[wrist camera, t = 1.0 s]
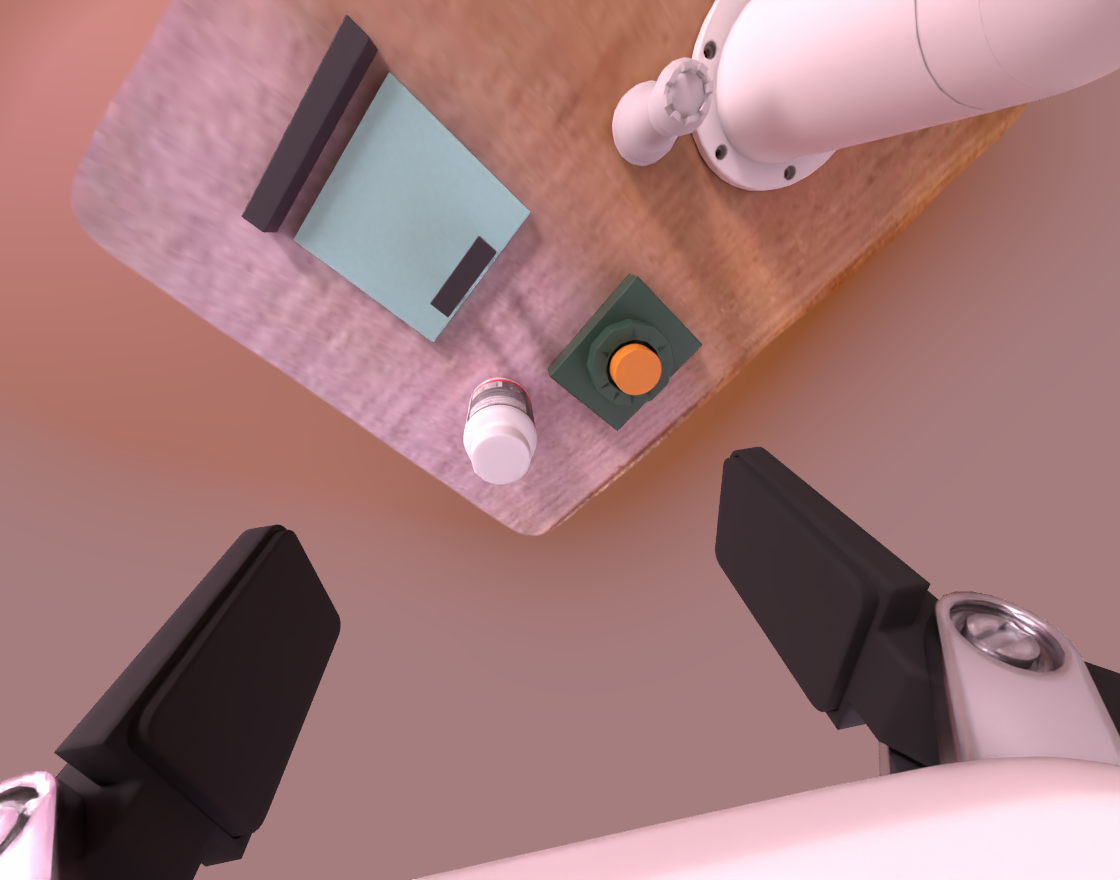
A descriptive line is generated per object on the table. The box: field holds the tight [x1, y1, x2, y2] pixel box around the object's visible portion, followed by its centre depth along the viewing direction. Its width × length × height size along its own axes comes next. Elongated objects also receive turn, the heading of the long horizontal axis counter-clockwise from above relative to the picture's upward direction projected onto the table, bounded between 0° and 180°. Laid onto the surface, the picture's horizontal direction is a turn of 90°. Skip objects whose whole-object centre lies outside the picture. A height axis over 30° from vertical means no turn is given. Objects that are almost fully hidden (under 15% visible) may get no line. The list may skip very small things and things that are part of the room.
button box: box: [548, 274, 702, 431], centre depth 33 cm, size 10×8×4 cm
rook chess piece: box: [612, 57, 714, 166], centre depth 24 cm, size 4×4×8 cm
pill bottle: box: [464, 377, 537, 485], centre depth 31 cm, size 5×5×10 cm
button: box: [610, 343, 662, 395], centre depth 31 cm, size 4×4×2 cm
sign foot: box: [242, 15, 378, 232], centre depth 25 cm, size 13×1×2 cm, turn 138°
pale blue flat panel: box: [293, 72, 530, 343], centre depth 26 cm, size 12×11×6 cm
